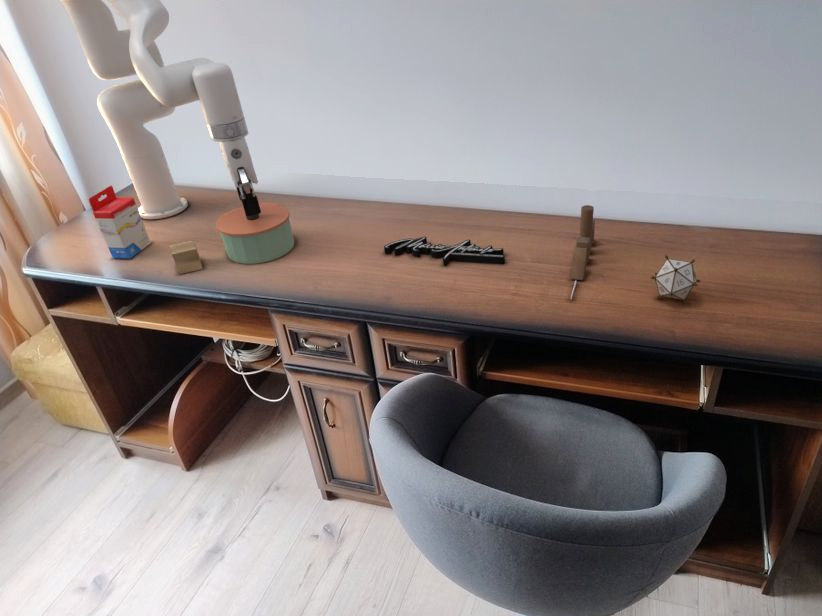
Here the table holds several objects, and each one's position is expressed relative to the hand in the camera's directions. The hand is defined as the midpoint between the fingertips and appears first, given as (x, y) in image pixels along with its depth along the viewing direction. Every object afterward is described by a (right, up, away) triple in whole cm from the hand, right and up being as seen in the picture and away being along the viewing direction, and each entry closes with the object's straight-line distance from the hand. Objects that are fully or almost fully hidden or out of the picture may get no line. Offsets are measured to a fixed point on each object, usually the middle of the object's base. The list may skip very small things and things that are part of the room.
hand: (250, 206), depth 141 cm
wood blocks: (+72, -15, -10) cm, 74 cm away
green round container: (0, -8, +6) cm, 10 cm away
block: (-14, -13, +1) cm, 19 cm away
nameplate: (+43, -11, -2) cm, 45 cm away
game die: (+87, -22, -21) cm, 92 cm away
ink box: (-31, -9, +9) cm, 34 cm away
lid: (0, -3, +2) cm, 3 cm away
